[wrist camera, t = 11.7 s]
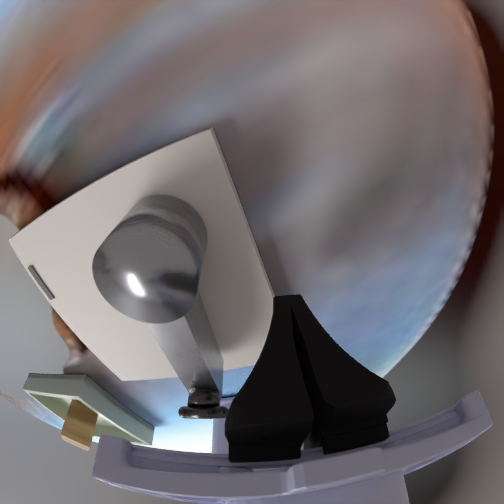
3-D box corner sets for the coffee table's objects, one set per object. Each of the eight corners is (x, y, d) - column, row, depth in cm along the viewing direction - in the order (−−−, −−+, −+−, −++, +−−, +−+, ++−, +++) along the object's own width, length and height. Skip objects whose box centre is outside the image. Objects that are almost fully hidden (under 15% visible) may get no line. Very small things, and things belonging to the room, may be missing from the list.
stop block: (72, 396, 25) (60, 434, 20) (99, 409, 26) (89, 447, 21) (72, 405, 27) (62, 439, 22) (97, 416, 28) (89, 451, 23)
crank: (113, 204, 12) (59, 262, 8) (196, 187, 12) (168, 244, 7) (183, 363, 19) (175, 422, 14) (241, 359, 18) (242, 422, 14)
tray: (85, 374, 23) (78, 396, 20) (154, 427, 30) (151, 445, 27) (29, 373, 25) (22, 389, 22) (90, 421, 32) (86, 436, 29)
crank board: (212, 127, 11) (209, 129, 10) (292, 345, 20) (294, 357, 19) (15, 233, 14) (7, 241, 13) (124, 372, 22) (122, 381, 21)
